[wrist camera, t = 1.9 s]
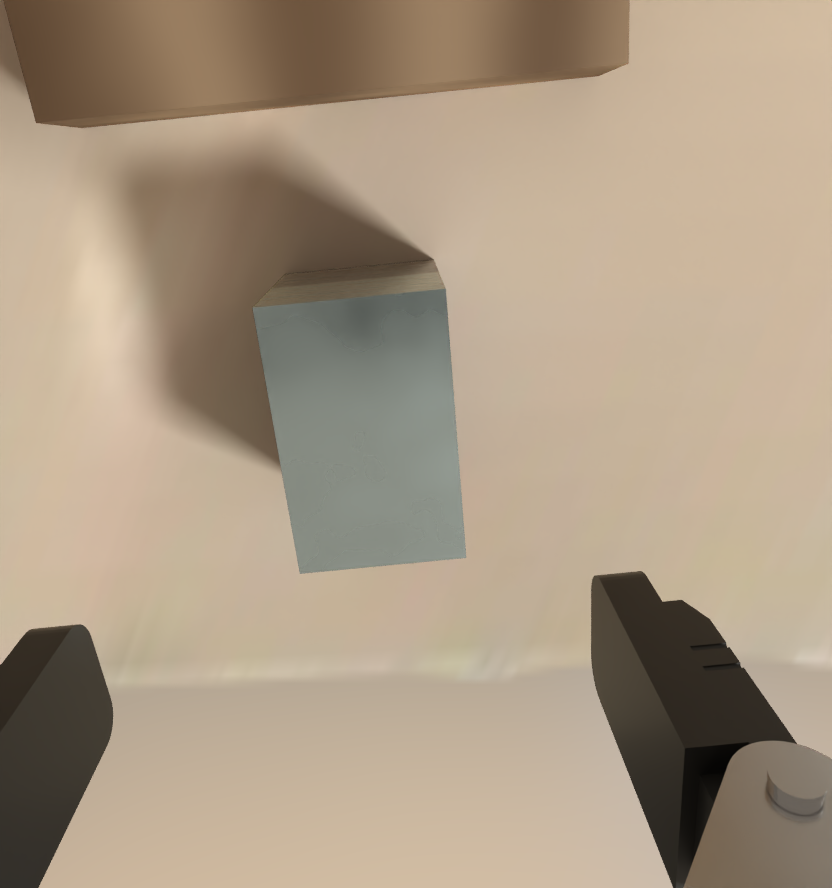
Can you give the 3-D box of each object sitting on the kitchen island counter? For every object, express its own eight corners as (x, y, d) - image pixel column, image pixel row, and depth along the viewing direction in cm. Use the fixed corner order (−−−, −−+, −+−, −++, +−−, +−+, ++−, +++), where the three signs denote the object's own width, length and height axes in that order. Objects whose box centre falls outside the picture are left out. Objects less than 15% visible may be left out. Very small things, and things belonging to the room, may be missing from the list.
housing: (433, 259, 24) (445, 288, 18) (450, 475, 27) (466, 557, 21) (285, 273, 24) (252, 307, 18) (319, 488, 27) (299, 573, 21)
